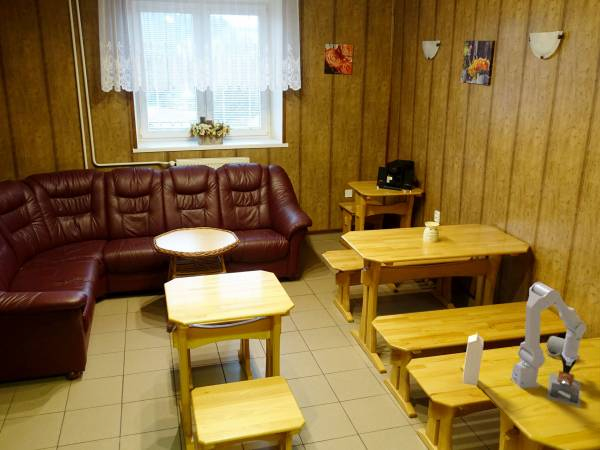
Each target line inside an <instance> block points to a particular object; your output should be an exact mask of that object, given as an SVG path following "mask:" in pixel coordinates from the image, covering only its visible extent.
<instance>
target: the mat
mask: <svg viewBox="0 0 600 450" xmlns="http://www.w3.org/2000/svg"><path fill="white" fill-rule="evenodd" d="M558 375H559V374H554V373H551V372H550V374H549V380H548V387H547V394H546V399H548V400H551V401H555V402H558V403H562V404H565V405H568V406H572V407H577V408H579V409H580V408H581V382H582V381H581V380H578V379H574V380H573V384H572V385H571V386H572V388H574V389H578V390H579V398H578V403H573V402H570V393H566V392H563V391H559V392H558V397H557V398H555V397H552V396H550V392H551V386H552V383H555V384H560V383H561V382H558V381H557V380H558Z"/></svg>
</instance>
